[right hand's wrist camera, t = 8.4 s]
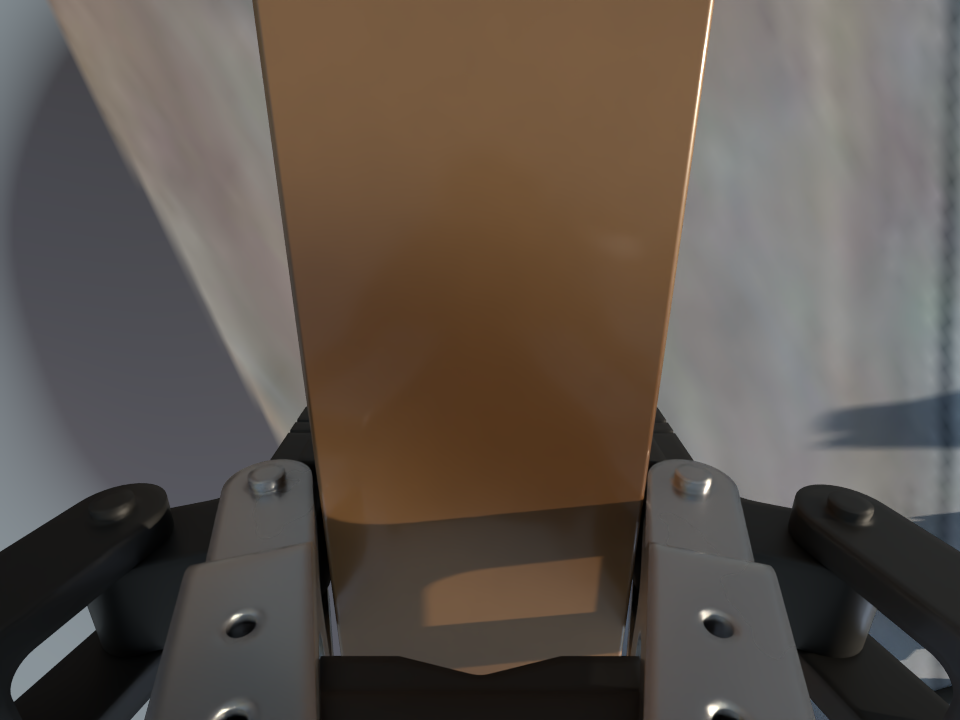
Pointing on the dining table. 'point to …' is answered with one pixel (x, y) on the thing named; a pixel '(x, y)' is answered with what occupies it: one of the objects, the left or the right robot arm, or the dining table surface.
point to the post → (482, 303)
